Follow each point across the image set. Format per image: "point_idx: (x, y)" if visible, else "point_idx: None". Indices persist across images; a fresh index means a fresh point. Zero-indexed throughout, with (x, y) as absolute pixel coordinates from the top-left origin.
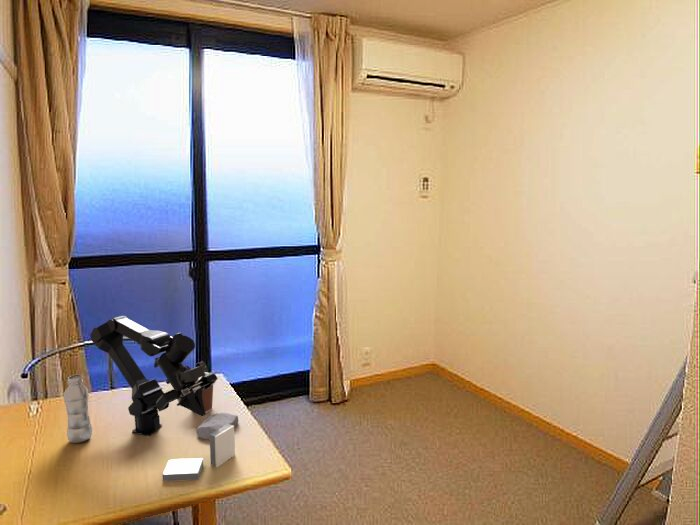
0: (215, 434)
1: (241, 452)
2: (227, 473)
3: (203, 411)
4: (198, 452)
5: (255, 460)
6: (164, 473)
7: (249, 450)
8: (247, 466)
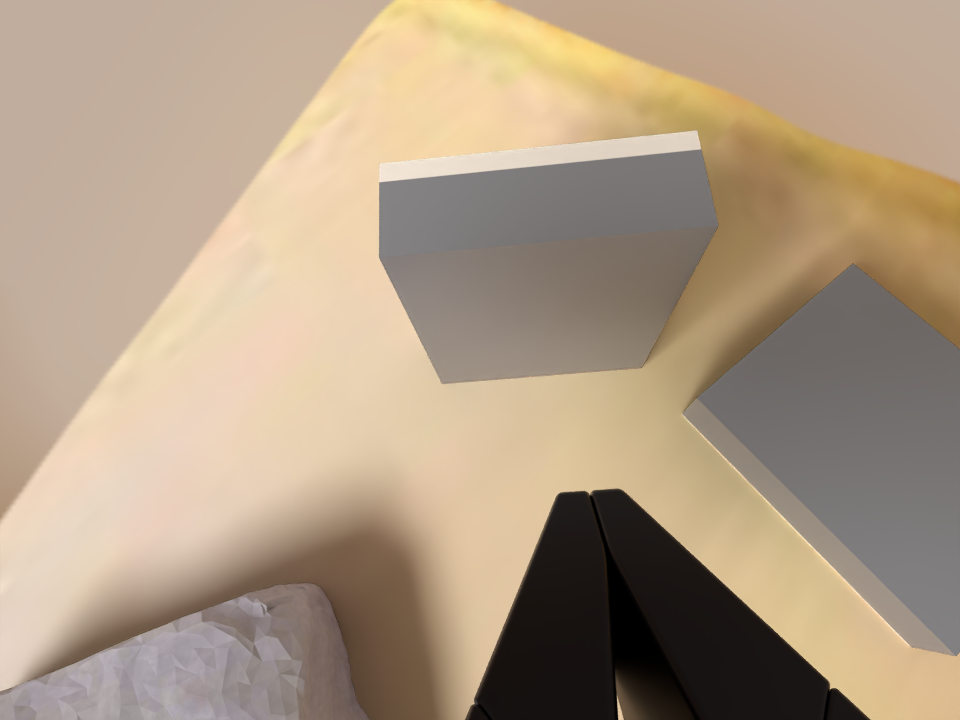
0: (665, 173)
1: (385, 312)
2: None
3: (591, 521)
4: None
5: None
6: None
7: (333, 287)
8: None
